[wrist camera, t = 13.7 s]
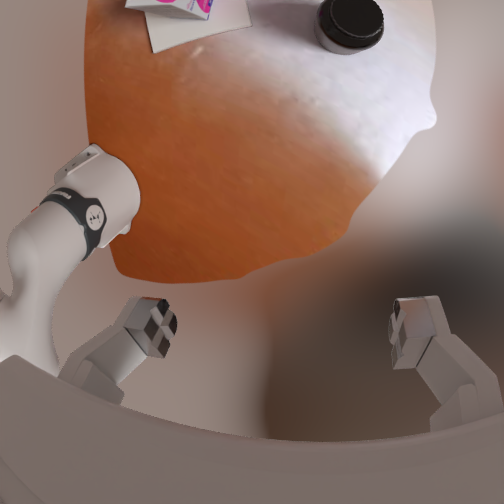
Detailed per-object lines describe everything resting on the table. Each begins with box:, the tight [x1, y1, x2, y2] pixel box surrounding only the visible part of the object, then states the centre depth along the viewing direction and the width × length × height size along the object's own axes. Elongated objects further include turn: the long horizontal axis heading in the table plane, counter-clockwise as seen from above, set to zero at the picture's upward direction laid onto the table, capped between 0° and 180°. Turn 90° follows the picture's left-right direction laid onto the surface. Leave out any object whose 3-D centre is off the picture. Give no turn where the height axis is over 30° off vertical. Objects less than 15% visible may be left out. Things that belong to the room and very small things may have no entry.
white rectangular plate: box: [145, 0, 252, 53], centre depth 24 cm, size 14×12×1 cm
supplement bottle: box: [314, 0, 384, 55], centre depth 19 cm, size 7×7×12 cm
